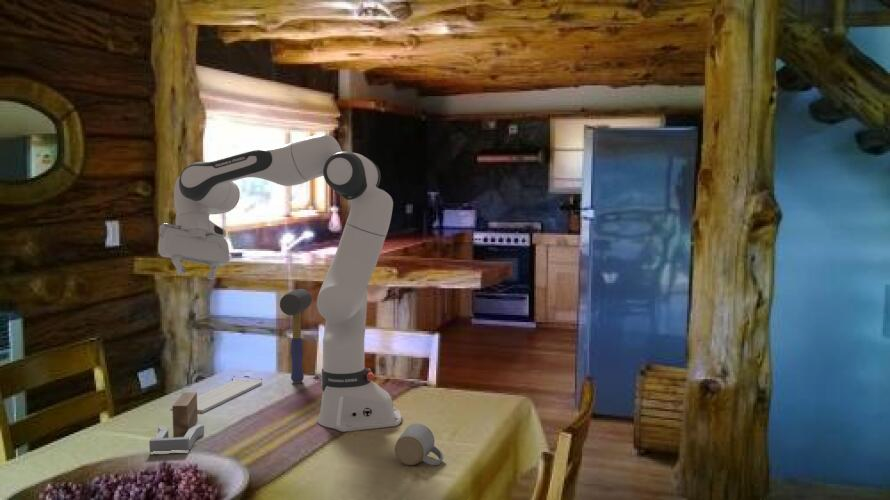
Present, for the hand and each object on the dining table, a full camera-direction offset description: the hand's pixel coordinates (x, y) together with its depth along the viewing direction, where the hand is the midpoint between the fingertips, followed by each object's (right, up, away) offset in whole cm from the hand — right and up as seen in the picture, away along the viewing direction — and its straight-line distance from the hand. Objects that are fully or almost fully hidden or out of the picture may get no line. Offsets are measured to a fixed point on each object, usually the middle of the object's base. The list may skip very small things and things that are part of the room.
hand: (196, 276), depth 194 cm
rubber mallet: (+19, -36, +39) cm, 56 cm away
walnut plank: (-1, -40, -5) cm, 40 cm away
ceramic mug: (+61, -42, -27) cm, 79 cm away
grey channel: (+1, -41, -17) cm, 44 cm away
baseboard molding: (-2, -38, +24) cm, 45 cm away
